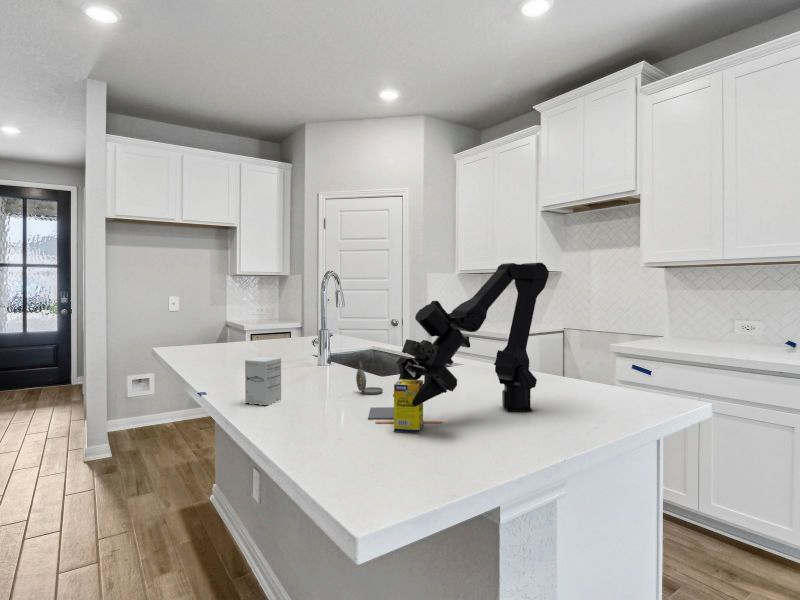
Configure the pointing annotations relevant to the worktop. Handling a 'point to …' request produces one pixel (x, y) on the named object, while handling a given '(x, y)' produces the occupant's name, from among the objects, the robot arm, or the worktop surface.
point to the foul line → (393, 422)
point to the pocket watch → (362, 383)
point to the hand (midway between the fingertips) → (403, 401)
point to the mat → (381, 413)
